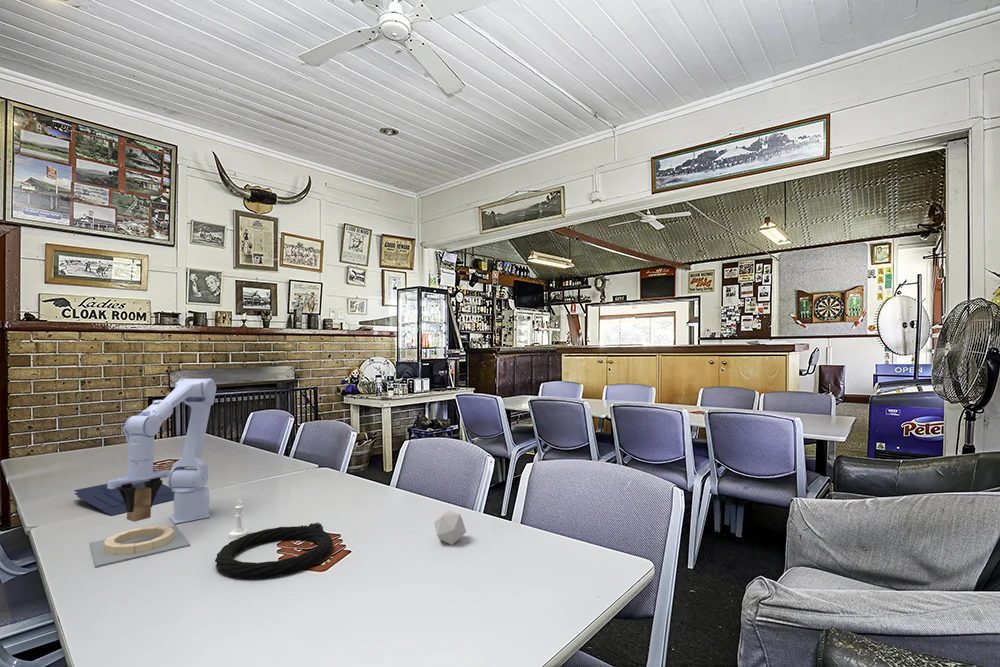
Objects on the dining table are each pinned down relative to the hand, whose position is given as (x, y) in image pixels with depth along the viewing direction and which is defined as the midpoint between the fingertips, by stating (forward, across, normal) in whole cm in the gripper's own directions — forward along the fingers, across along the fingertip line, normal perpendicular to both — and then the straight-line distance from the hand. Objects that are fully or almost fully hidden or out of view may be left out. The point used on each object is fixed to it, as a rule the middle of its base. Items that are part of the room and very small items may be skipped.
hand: (139, 509), depth 135 cm
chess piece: (+10, -18, +17) cm, 26 cm away
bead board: (+9, 0, +1) cm, 9 cm away
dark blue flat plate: (+10, -18, -49) cm, 53 cm away
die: (+10, -45, +72) cm, 86 cm away
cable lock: (+10, -16, +39) cm, 43 cm away
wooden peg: (+2, 0, 0) cm, 3 cm away
